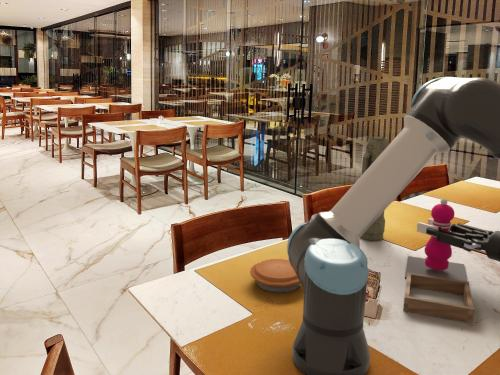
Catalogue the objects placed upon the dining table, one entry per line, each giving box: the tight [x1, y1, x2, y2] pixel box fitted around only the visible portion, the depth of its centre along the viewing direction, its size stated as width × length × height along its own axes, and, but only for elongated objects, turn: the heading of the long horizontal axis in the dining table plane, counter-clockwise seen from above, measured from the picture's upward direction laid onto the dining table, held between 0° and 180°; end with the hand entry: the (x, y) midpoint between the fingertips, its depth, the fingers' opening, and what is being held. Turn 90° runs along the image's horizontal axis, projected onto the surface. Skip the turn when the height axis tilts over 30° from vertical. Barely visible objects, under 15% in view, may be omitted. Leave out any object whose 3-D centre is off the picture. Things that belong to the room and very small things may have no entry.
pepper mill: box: [424, 198, 455, 270], centre depth 126 cm, size 7×7×20 cm
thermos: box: [360, 136, 390, 243], centre depth 152 cm, size 9×12×35 cm
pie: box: [249, 258, 301, 294], centre depth 121 cm, size 15×16×5 cm
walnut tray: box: [402, 272, 475, 324], centre depth 112 cm, size 15×15×4 cm
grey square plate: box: [404, 255, 468, 282], centre depth 129 cm, size 16×16×1 cm
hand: (423, 224), depth 130 cm, fingers closed on pepper mill, 5 cm apart
